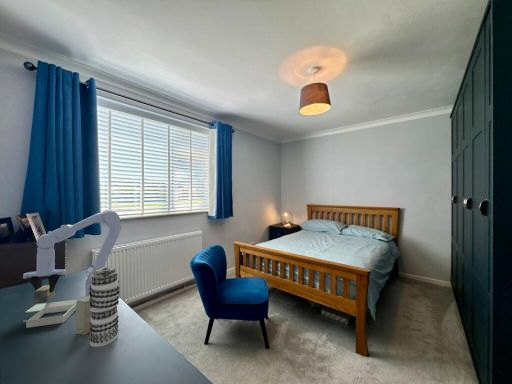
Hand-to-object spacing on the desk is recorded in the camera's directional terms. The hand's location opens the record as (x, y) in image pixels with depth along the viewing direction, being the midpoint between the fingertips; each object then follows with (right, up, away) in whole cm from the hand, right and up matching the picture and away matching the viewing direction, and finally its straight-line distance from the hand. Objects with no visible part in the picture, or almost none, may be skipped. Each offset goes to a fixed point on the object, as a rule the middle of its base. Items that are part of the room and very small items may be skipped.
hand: (45, 292), depth 96 cm
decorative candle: (+39, -8, -18) cm, 44 cm away
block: (0, -3, 0) cm, 3 cm away
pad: (-5, -9, +3) cm, 10 cm away
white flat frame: (+8, -8, -5) cm, 13 cm away
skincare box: (+29, -9, -13) cm, 33 cm away
